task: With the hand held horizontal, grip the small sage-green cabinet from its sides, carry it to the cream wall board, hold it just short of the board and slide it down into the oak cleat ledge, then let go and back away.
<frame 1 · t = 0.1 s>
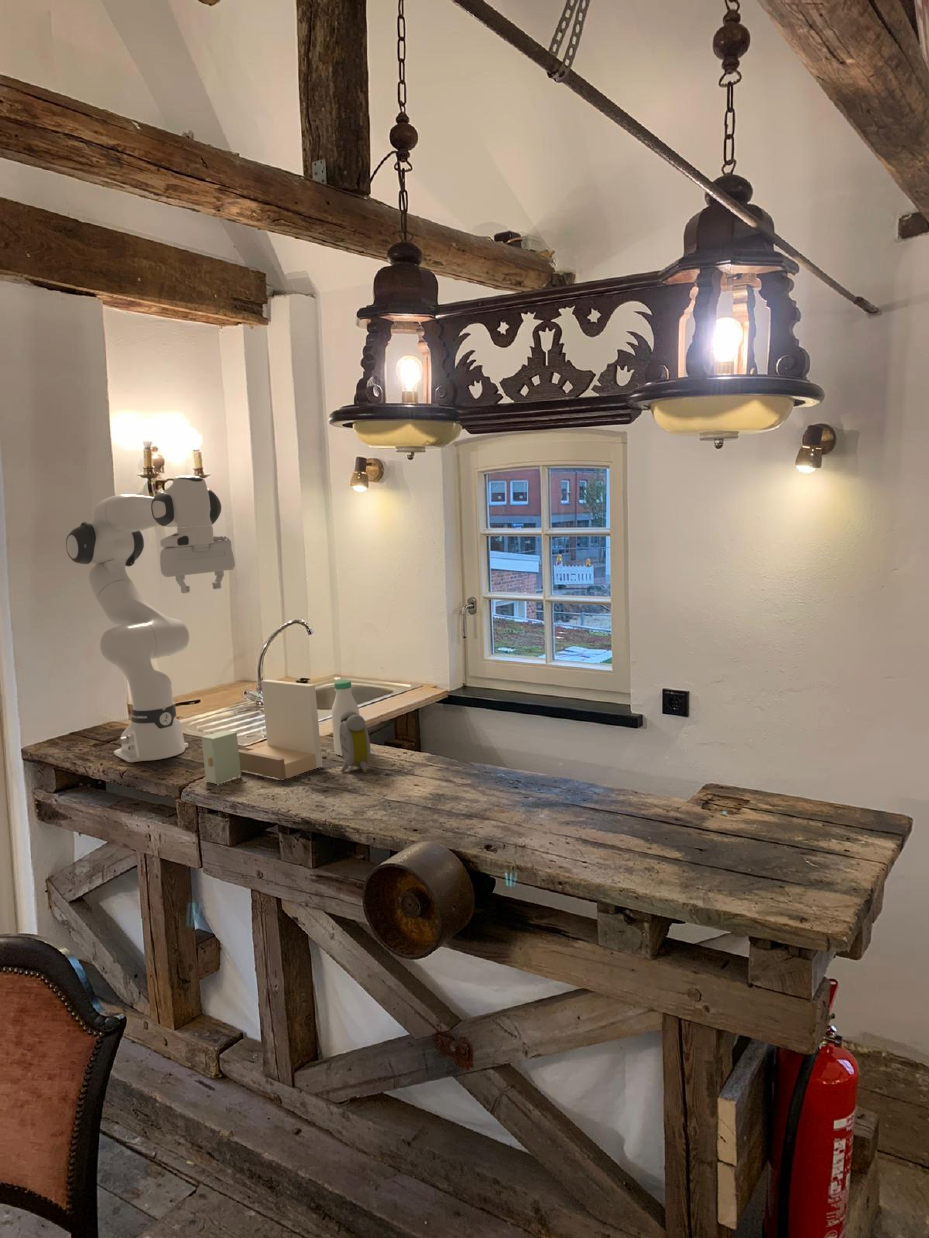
hand: (201, 590, 227), 48 cm above the table, tool pointing down, fingers open, 8 cm apart
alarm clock: (354, 771, 222), on the table
wall board: (292, 764, 232), on the table
milk bottle: (349, 753, 240), on the table
cabinet: (224, 780, 222), on the table
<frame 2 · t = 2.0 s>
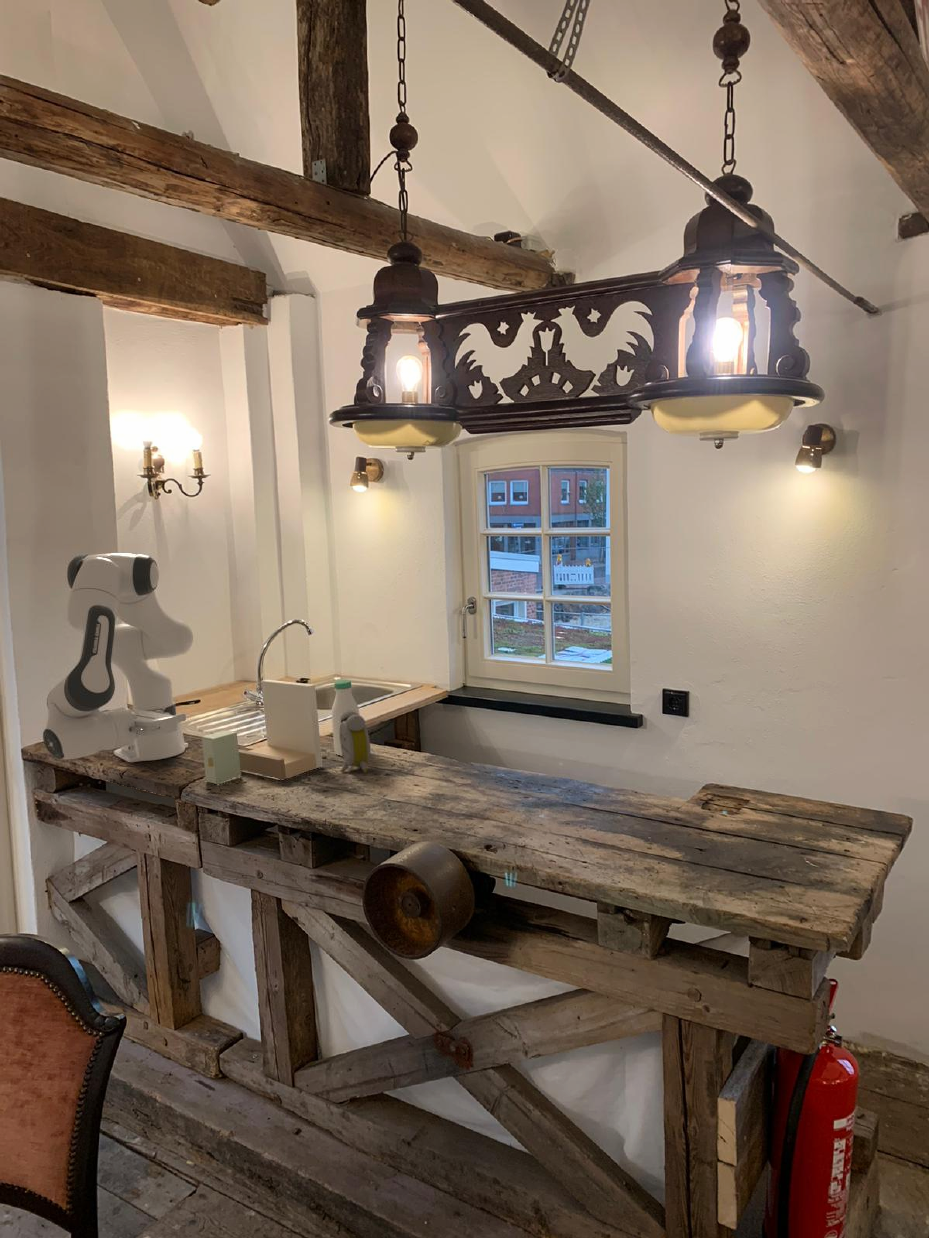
hand: (173, 714, 210), 20 cm above the table, tool horizontal, fingers open, 8 cm apart
nothing on the table moved.
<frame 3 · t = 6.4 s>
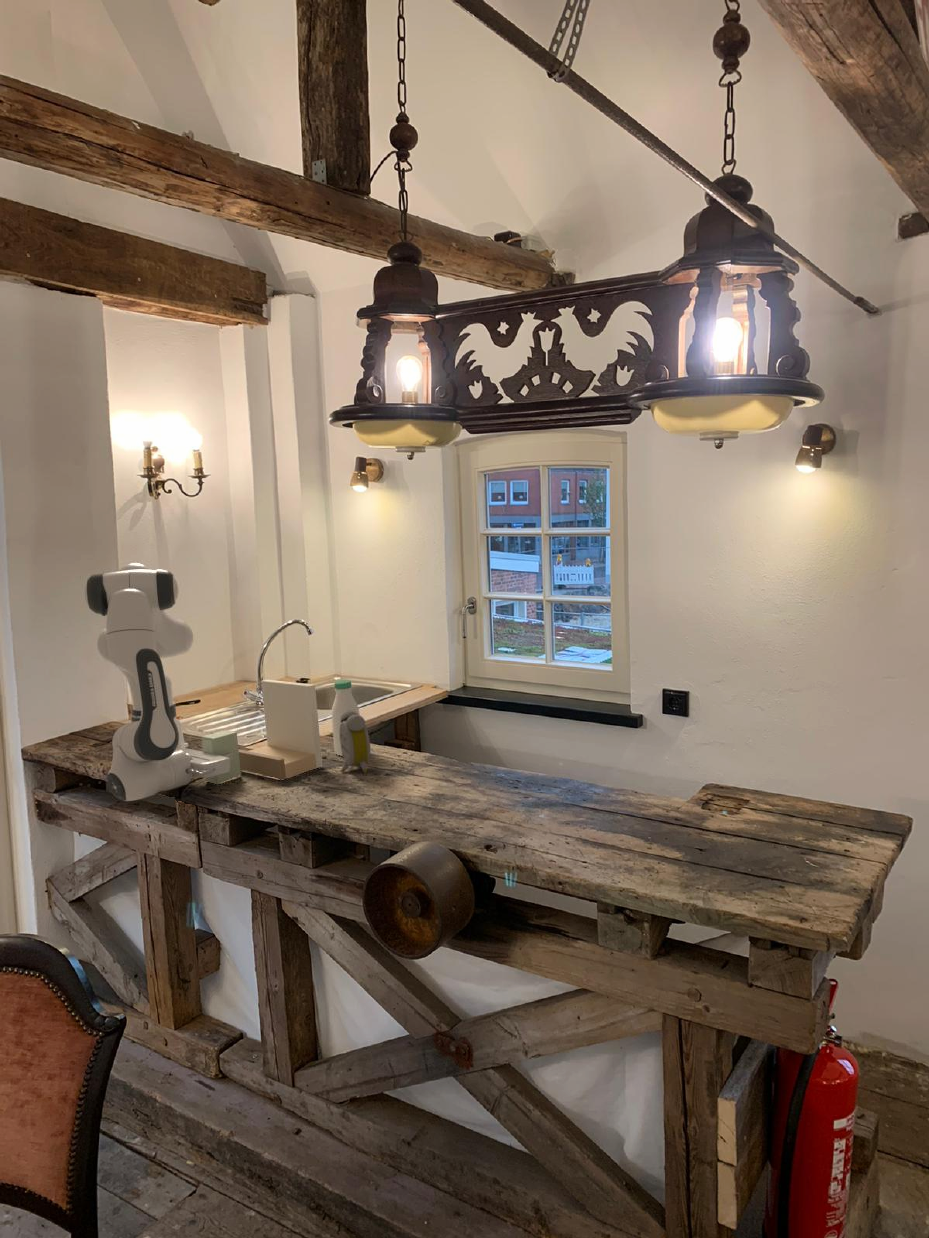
hand: (224, 754, 222), 7 cm above the table, tool horizontal, fingers closed on cabinet, 5 cm apart
cabinet: (224, 780, 222), on the table, touching gripper
everything else where it was.
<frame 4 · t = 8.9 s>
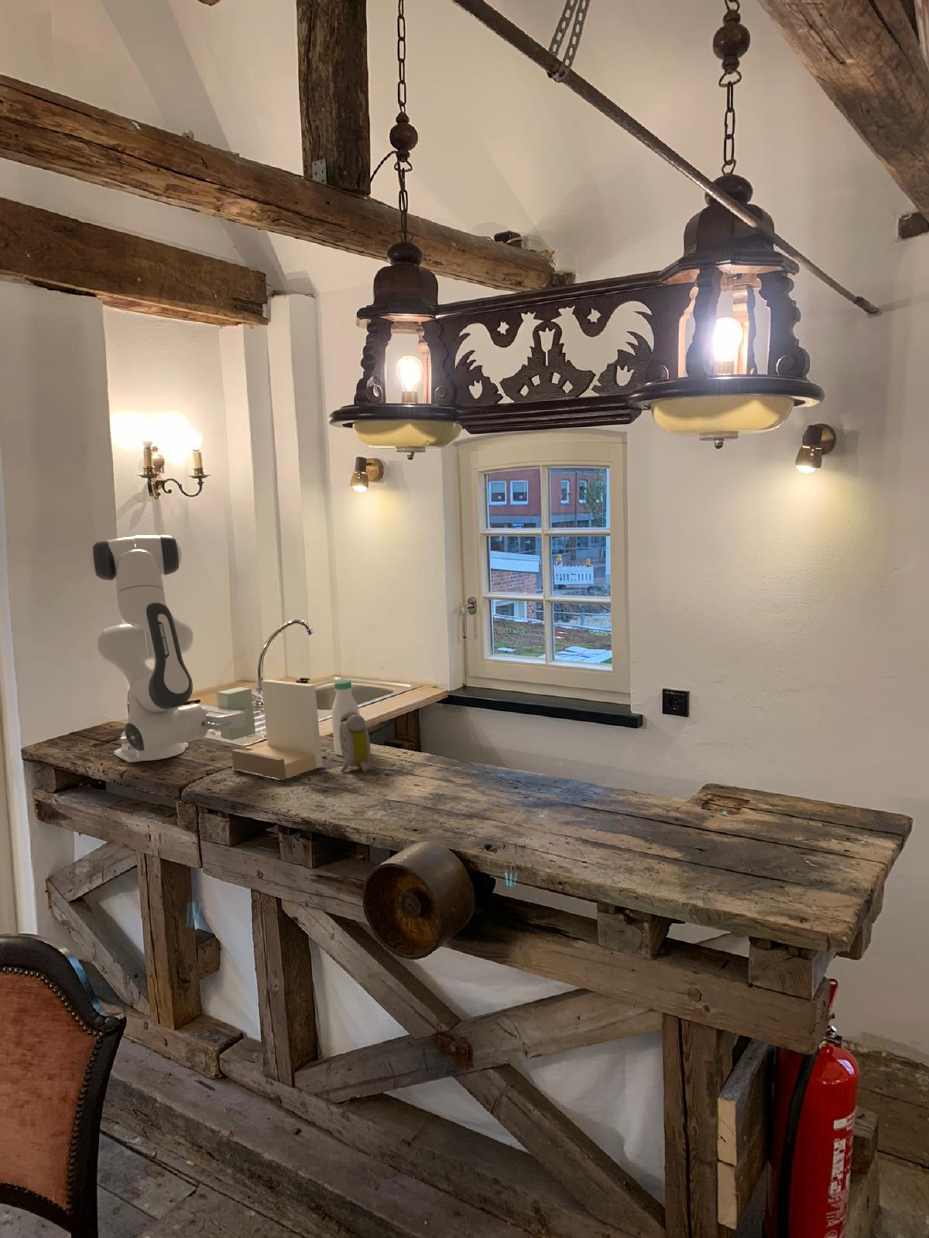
hand: (239, 710, 225), 17 cm above the table, tool horizontal, fingers closed on cabinet, 5 cm apart
cabinet: (238, 735, 225), point 10 cm above the table, touching gripper
everything else where it was.
when the fingers open (11 cm above the table, at t = 11.8 s): cabinet stays where it is, resting on wall board.
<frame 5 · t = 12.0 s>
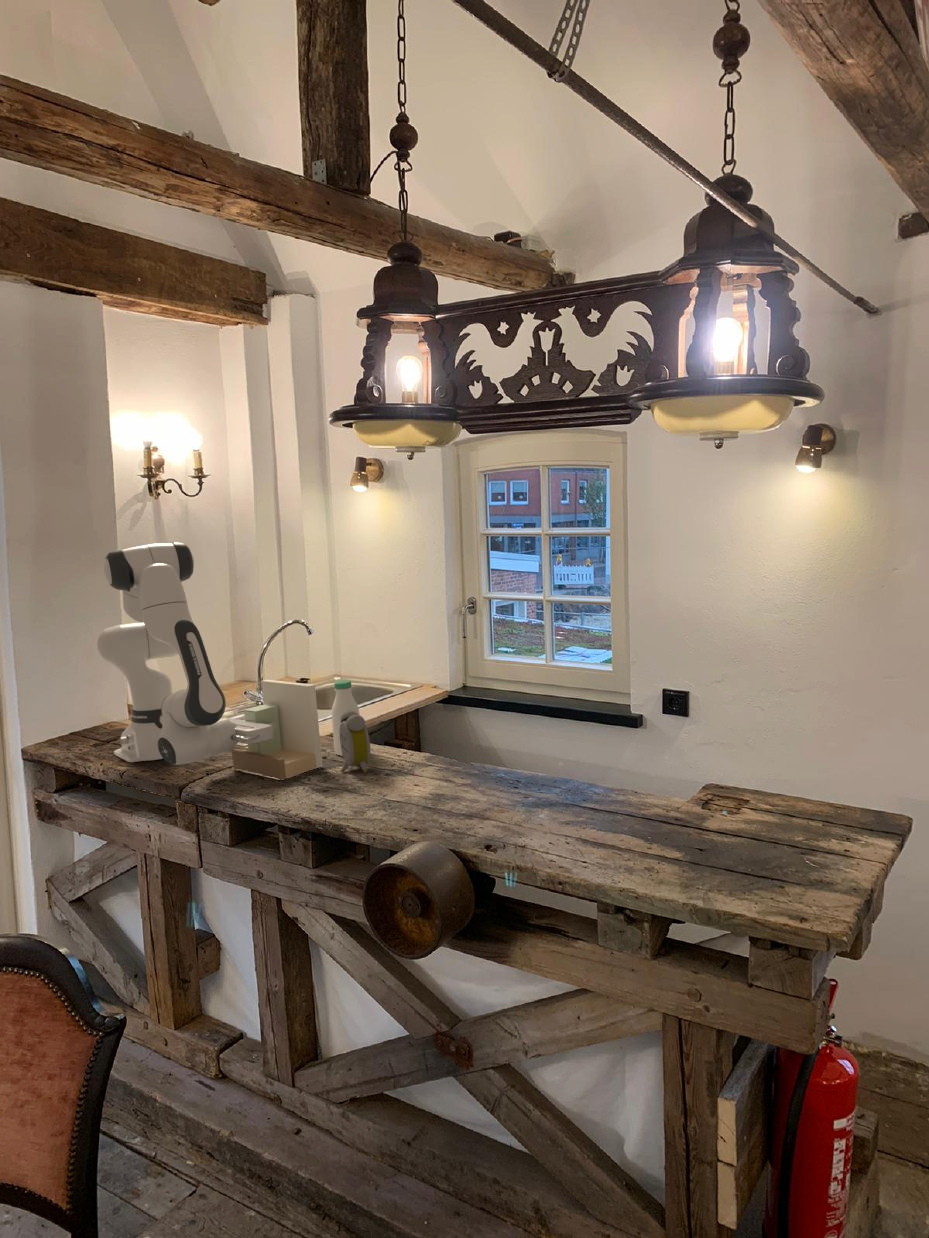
hand: (265, 723, 231), 11 cm above the table, tool horizontal, fingers open, 6 cm apart
cabinet: (265, 751, 231), point 4 cm above the table, touching wall board
everything else where it was.
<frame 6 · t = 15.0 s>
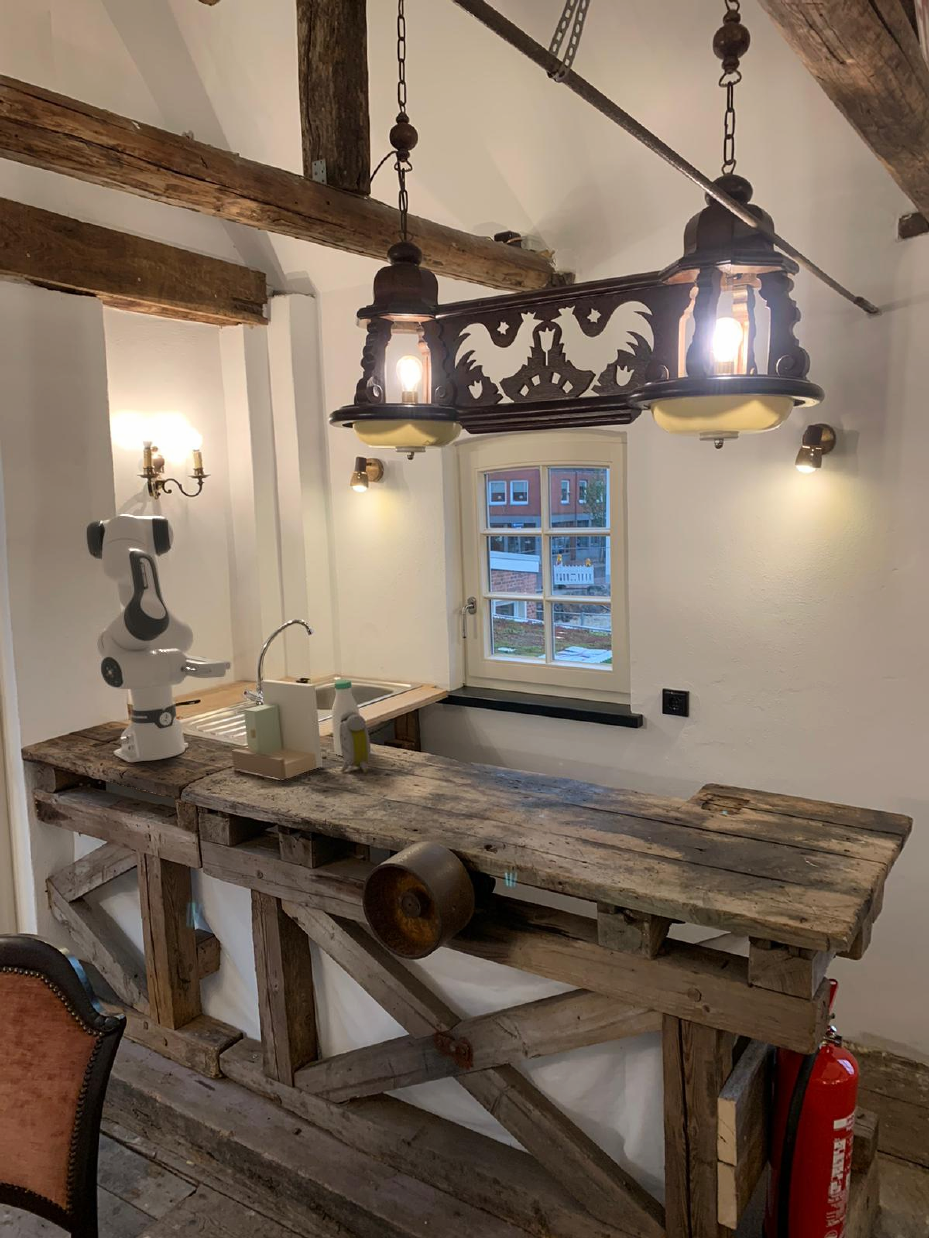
hand: (216, 662, 220), 30 cm above the table, tool horizontal, fingers open, 8 cm apart
nothing on the table moved.
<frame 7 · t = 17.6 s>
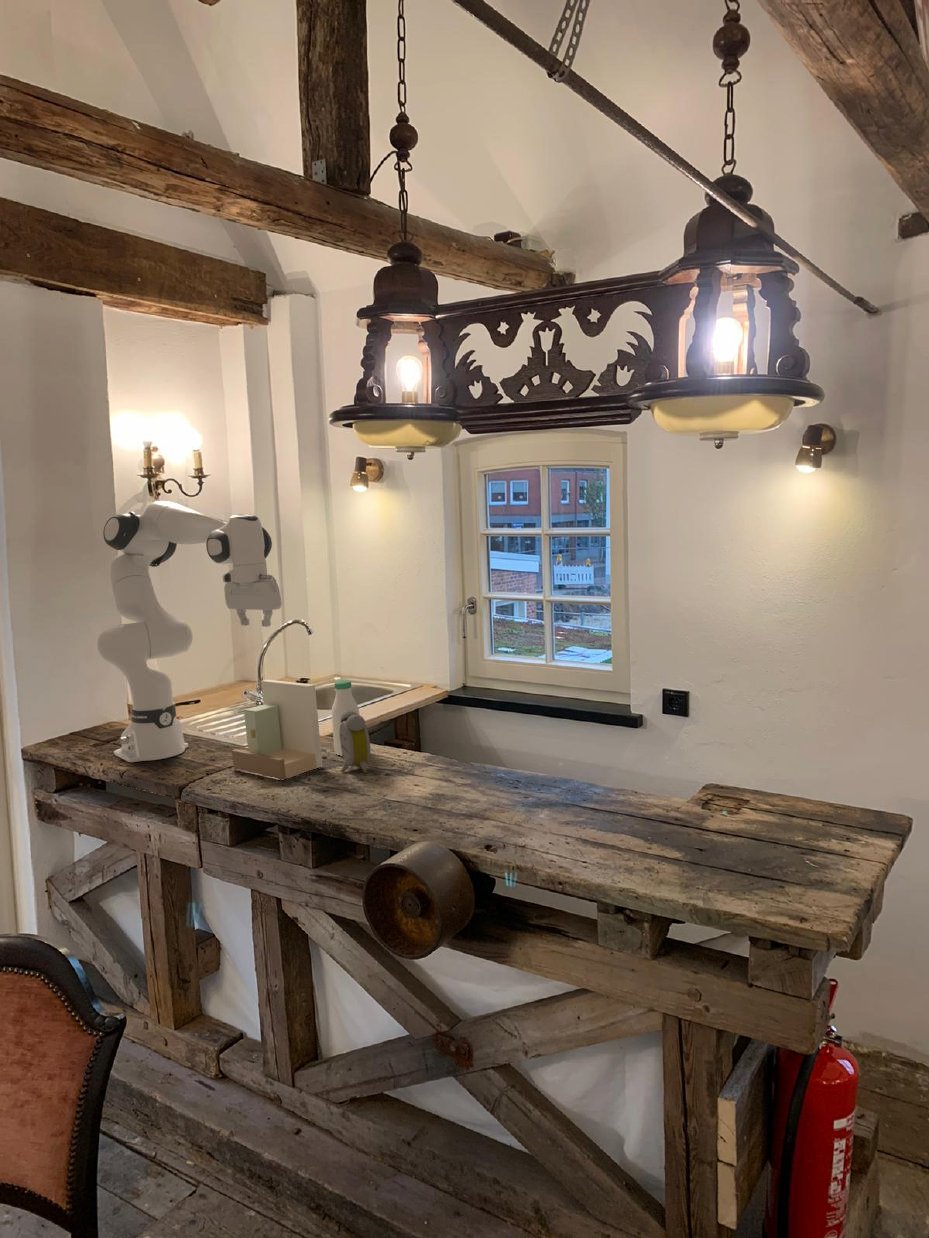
hand: (255, 626, 234), 37 cm above the table, tool pointing down, fingers open, 8 cm apart
nothing on the table moved.
at the end: cabinet inside the target area (3.1 cm from its centre), point 4.0 cm above the table; cabinet tilted 0°; the gripper is holding nothing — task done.
